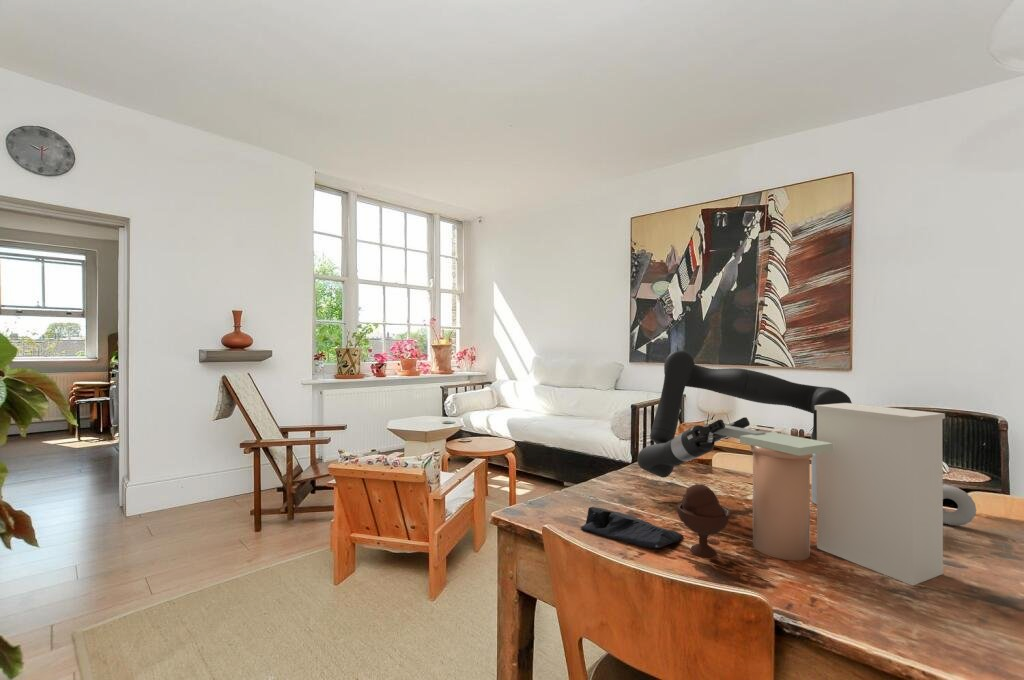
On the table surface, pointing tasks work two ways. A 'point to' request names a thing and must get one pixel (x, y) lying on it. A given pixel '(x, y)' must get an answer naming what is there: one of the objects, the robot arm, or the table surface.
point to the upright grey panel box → (881, 489)
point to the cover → (777, 441)
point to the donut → (964, 503)
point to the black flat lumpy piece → (628, 529)
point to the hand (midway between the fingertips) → (735, 422)
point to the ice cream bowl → (702, 517)
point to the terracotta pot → (781, 504)
